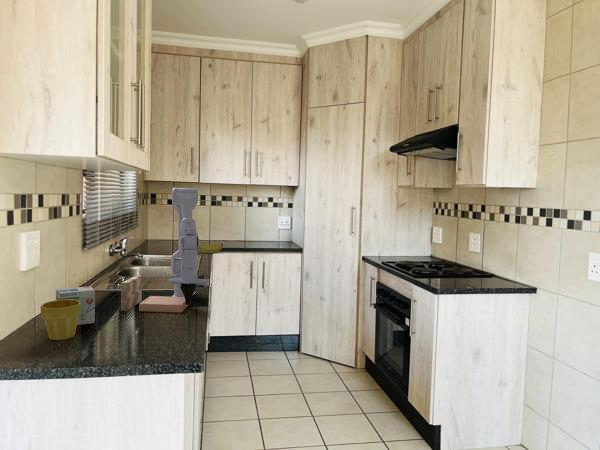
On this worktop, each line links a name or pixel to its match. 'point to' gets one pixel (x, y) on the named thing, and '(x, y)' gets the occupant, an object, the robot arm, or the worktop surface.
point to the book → (163, 304)
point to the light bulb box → (84, 296)
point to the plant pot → (61, 318)
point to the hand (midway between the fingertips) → (188, 304)
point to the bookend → (131, 292)
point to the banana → (209, 247)
